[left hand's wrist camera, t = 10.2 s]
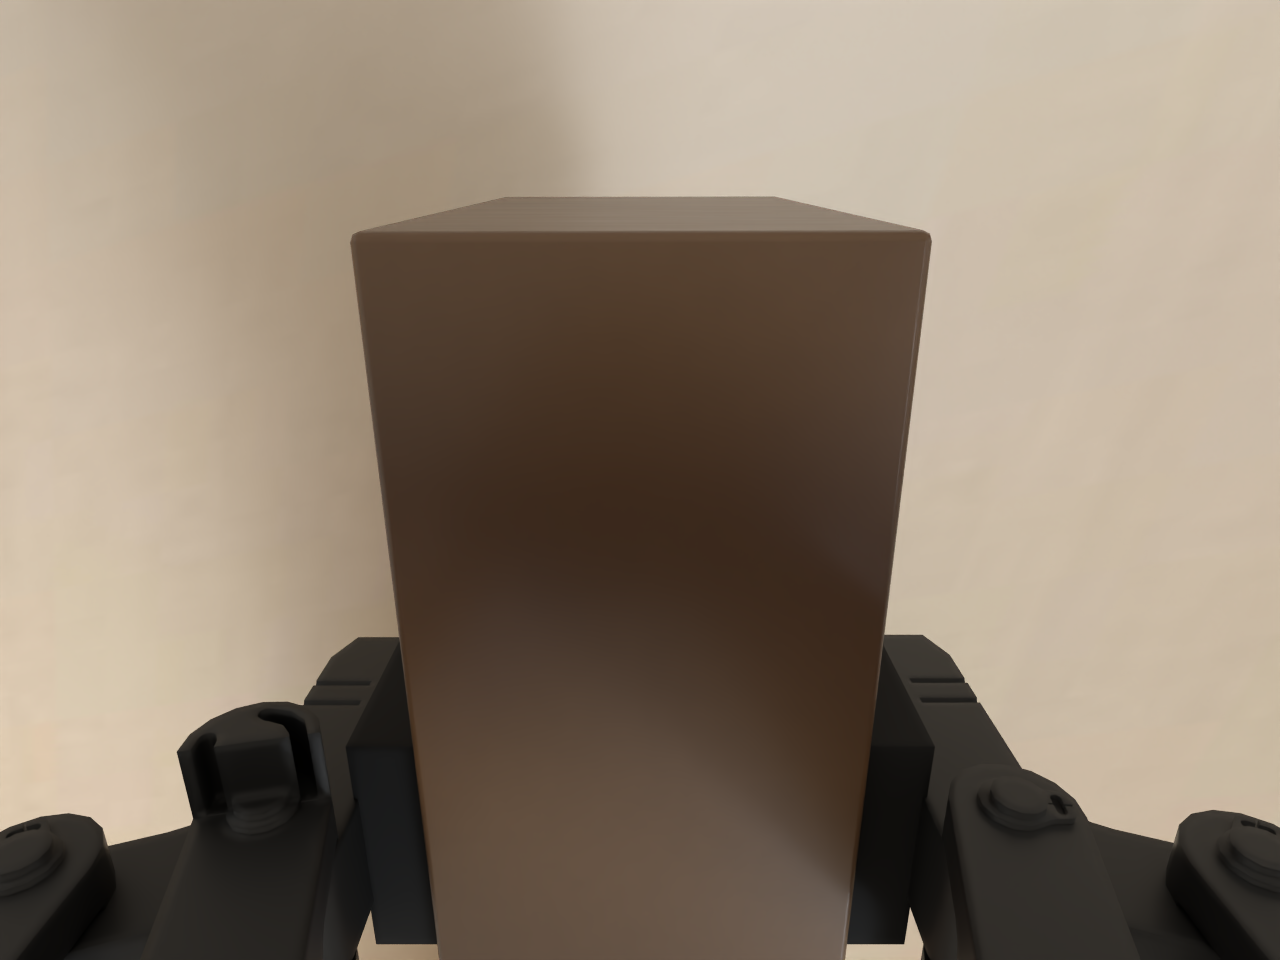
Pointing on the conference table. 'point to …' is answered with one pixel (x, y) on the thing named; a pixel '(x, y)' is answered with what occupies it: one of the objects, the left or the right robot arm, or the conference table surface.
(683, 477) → the beam
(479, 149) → the conference table surface
